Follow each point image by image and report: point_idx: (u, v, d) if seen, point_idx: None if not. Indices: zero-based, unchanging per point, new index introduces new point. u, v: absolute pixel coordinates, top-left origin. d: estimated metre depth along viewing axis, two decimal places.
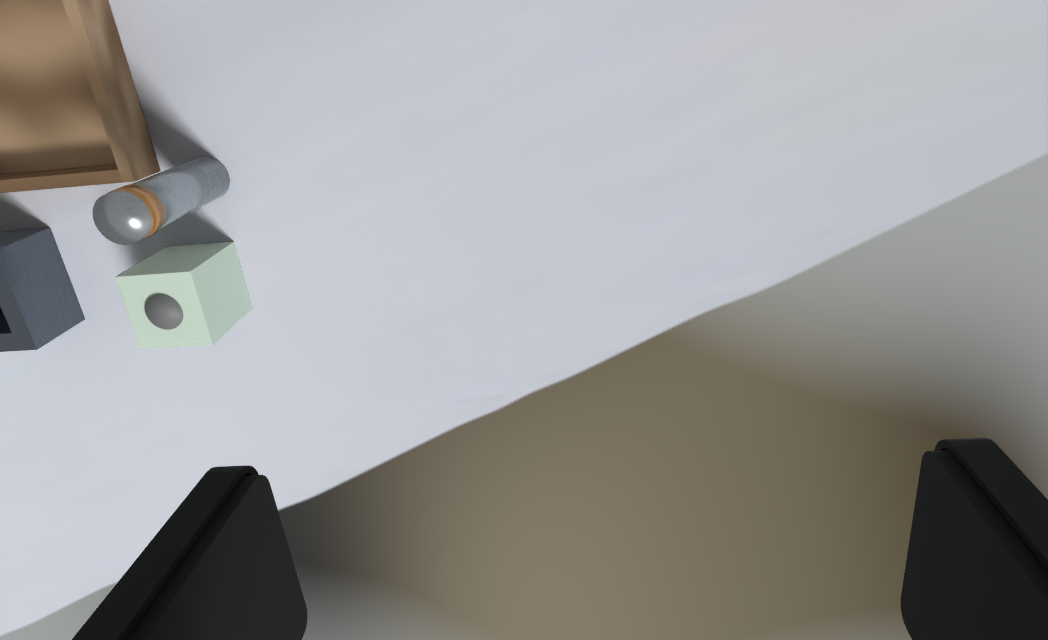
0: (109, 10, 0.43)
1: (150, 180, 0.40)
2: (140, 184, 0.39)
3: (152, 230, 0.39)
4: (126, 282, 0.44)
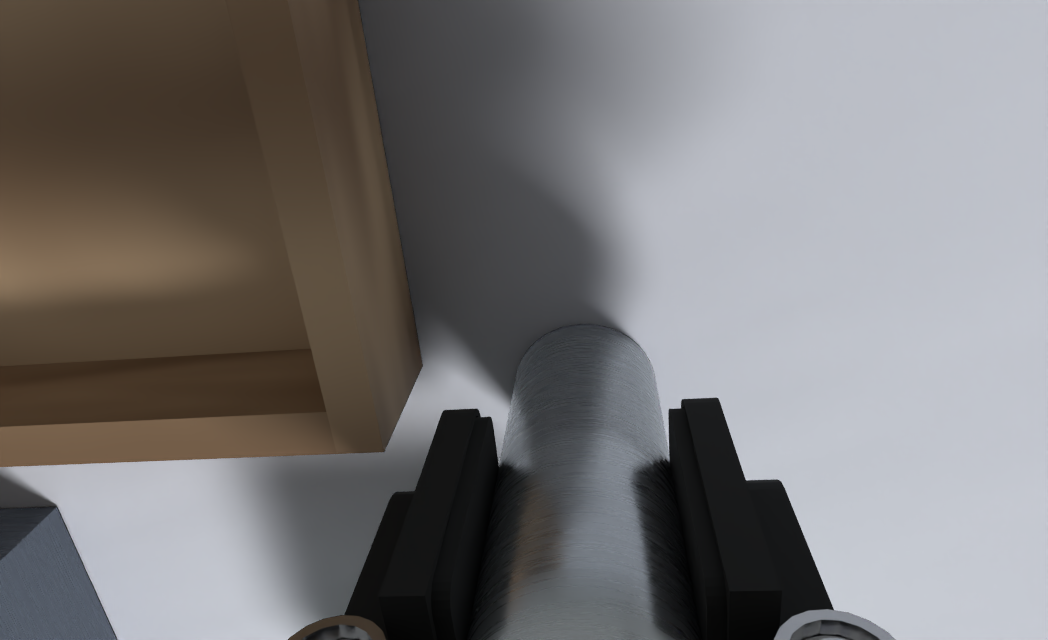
0: None
1: (610, 596, 0.07)
2: None
3: None
4: None
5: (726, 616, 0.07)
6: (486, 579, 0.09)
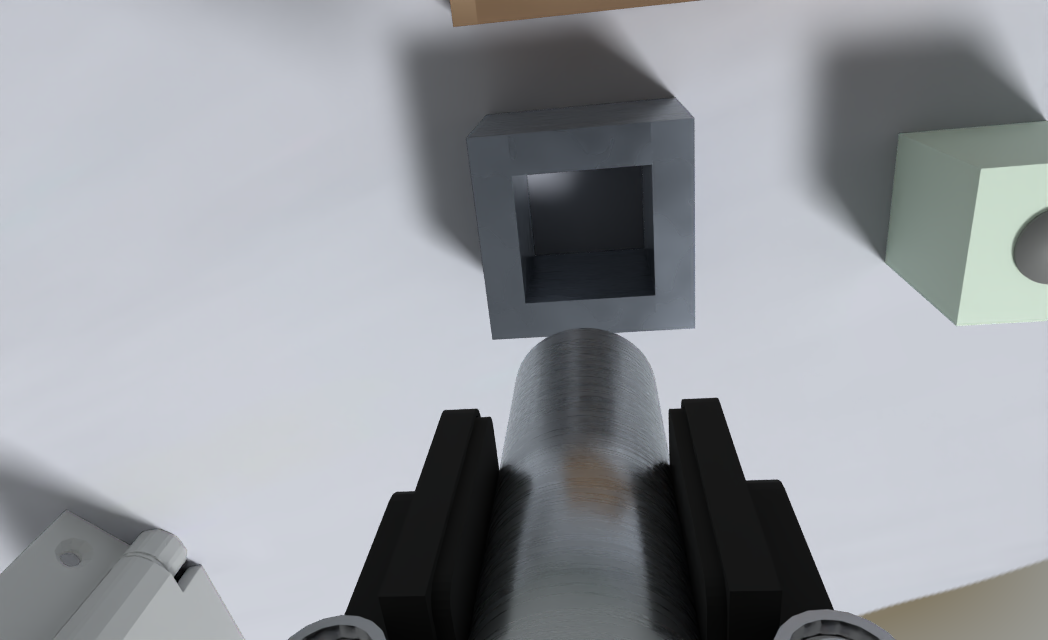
0: None
1: (611, 604, 0.07)
2: None
3: None
4: (1002, 181, 0.21)
5: (726, 616, 0.07)
6: (486, 585, 0.09)
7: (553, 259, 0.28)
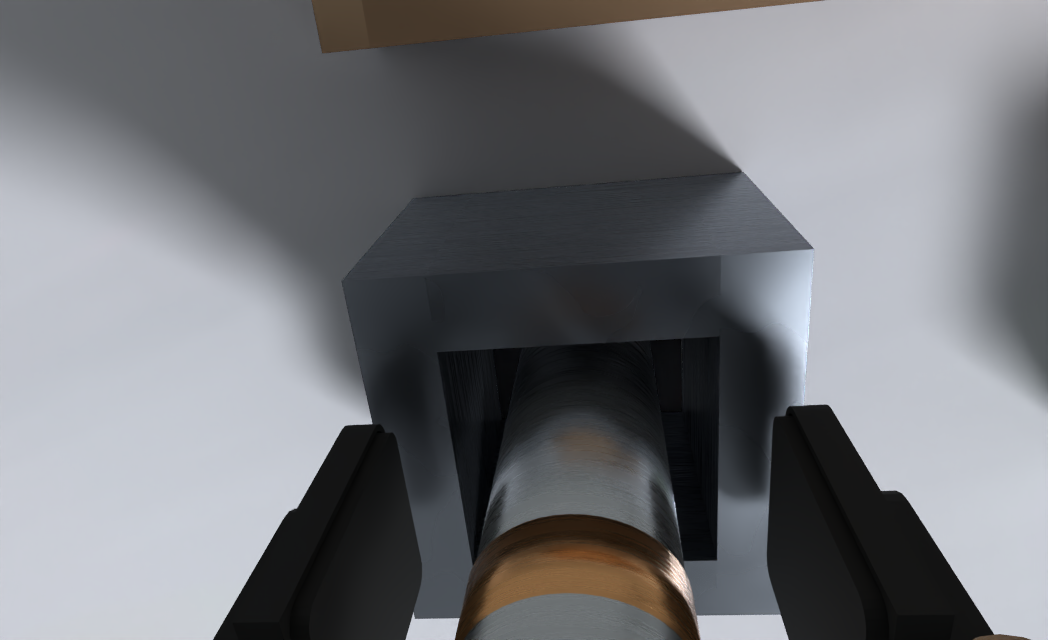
0: None
1: (600, 456, 0.10)
2: (600, 502, 0.09)
3: None
4: None
5: None
6: (504, 456, 0.11)
7: None
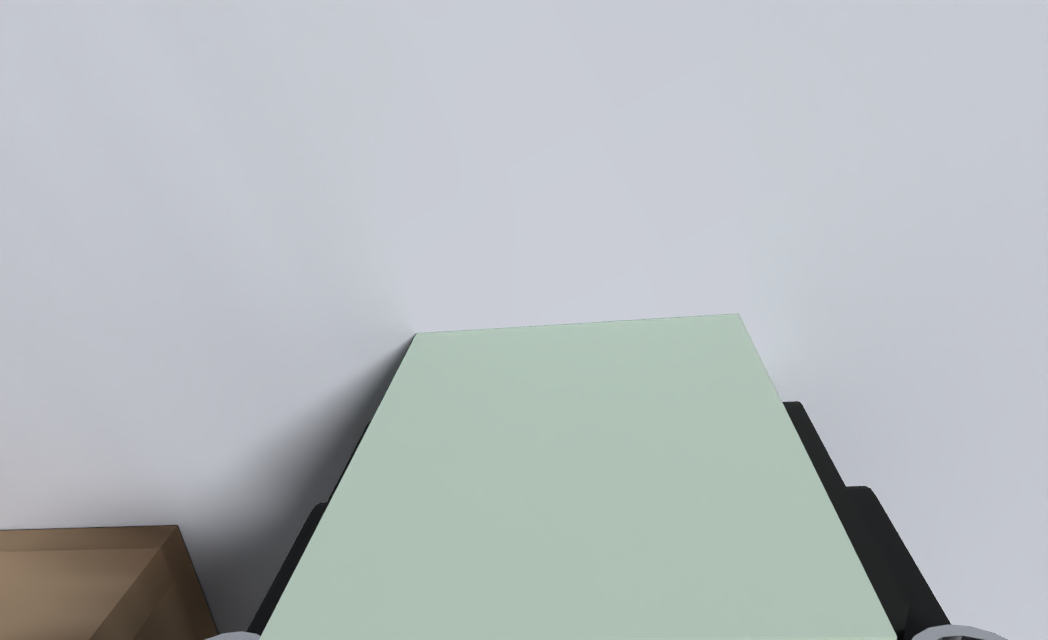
0: None
1: None
2: None
3: None
4: None
5: None
6: None
7: None
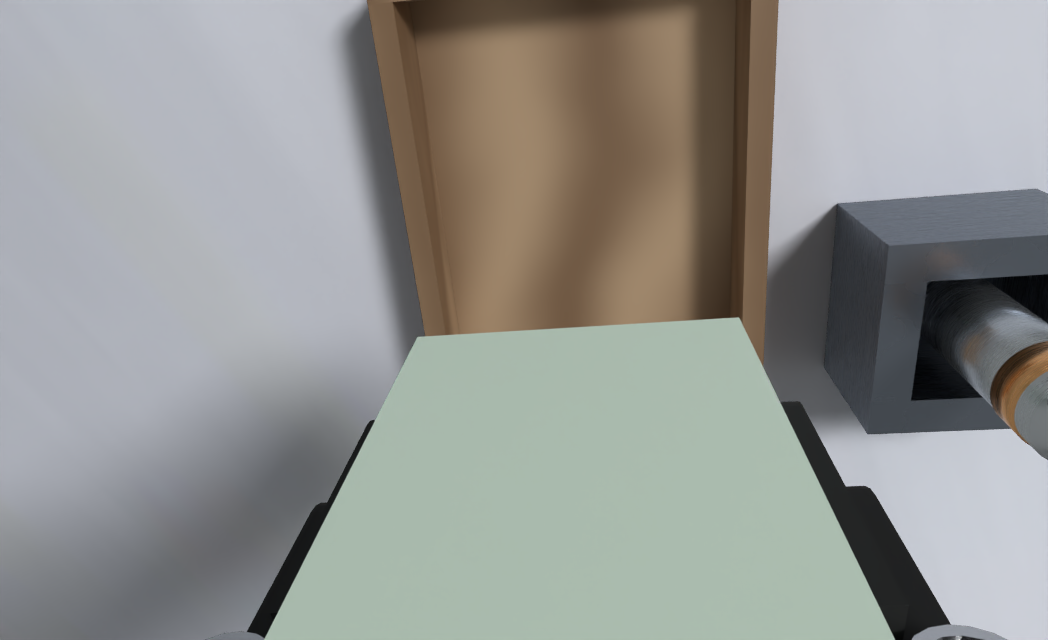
0: None
1: (974, 355, 0.22)
2: (990, 371, 0.21)
3: None
4: None
5: None
6: None
7: None
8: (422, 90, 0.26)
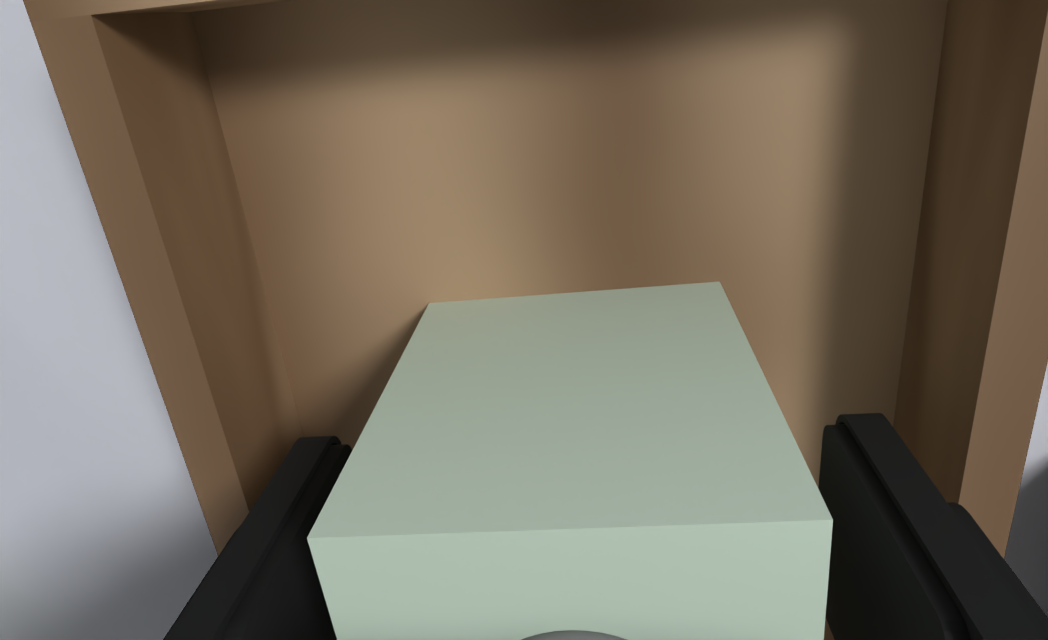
0: None
1: None
2: None
3: None
4: None
5: None
6: None
7: None
8: (238, 201, 0.12)
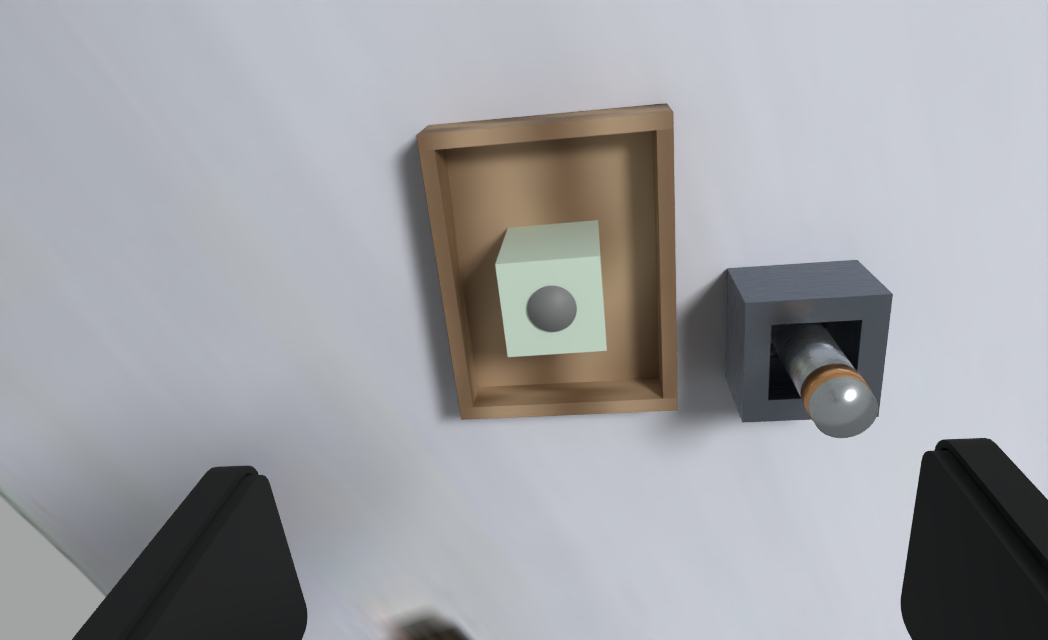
0: (479, 121, 0.38)
1: (795, 372, 0.35)
2: (801, 381, 0.34)
3: (862, 379, 0.32)
4: (514, 345, 0.36)
5: None
6: None
7: None
8: (450, 195, 0.39)
